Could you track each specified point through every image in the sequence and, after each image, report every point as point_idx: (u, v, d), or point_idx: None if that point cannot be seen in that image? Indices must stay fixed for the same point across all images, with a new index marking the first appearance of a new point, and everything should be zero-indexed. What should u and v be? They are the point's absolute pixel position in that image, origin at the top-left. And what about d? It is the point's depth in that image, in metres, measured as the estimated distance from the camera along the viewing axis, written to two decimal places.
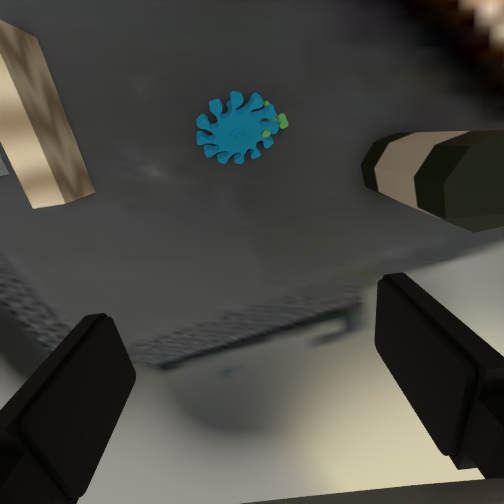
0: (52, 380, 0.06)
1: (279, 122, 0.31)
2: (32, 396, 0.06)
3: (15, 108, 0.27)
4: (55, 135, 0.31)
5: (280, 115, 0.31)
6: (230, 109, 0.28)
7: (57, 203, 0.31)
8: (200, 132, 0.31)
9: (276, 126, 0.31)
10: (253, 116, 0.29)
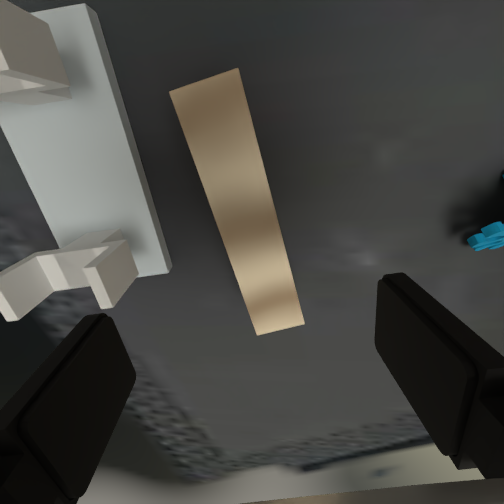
0: (52, 380, 0.06)
1: None
2: (32, 395, 0.06)
3: (260, 208, 0.17)
4: None
5: None
6: None
7: (293, 325, 0.21)
8: (500, 224, 0.20)
9: None
10: None
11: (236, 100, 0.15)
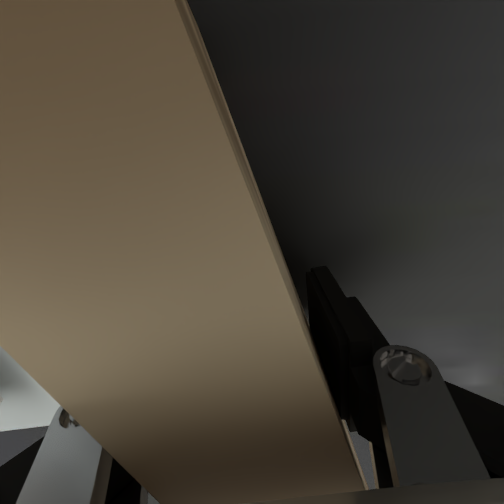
0: None
1: None
2: None
3: (285, 427, 0.05)
4: (323, 370, 0.08)
5: None
6: None
7: None
8: None
9: None
10: None
11: None
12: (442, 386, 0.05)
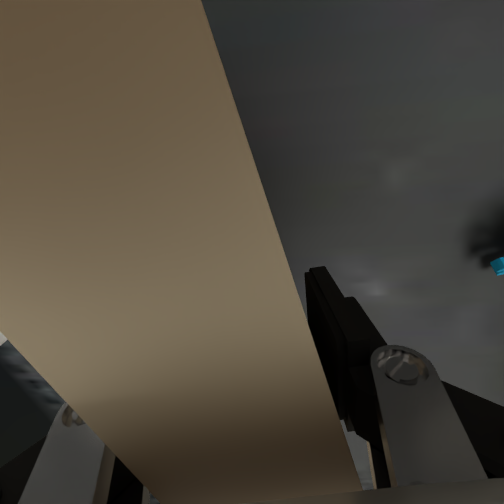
0: None
1: None
2: None
3: (287, 425, 0.05)
4: None
5: None
6: None
7: None
8: None
9: None
10: None
11: None
12: (439, 385, 0.05)
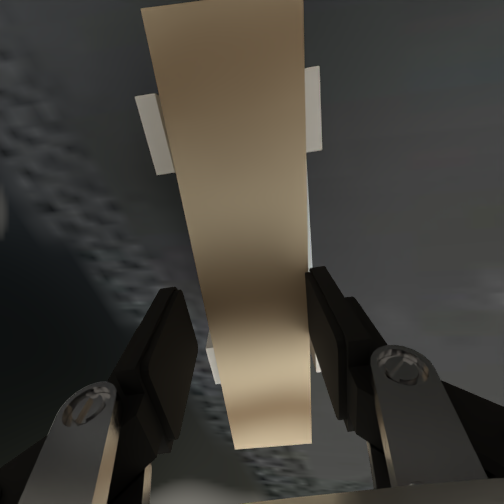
0: (155, 336, 0.07)
1: None
2: (144, 346, 0.07)
3: (284, 272, 0.10)
4: None
5: None
6: None
7: (293, 442, 0.14)
8: None
9: None
10: None
11: (284, 60, 0.07)
12: (439, 386, 0.05)
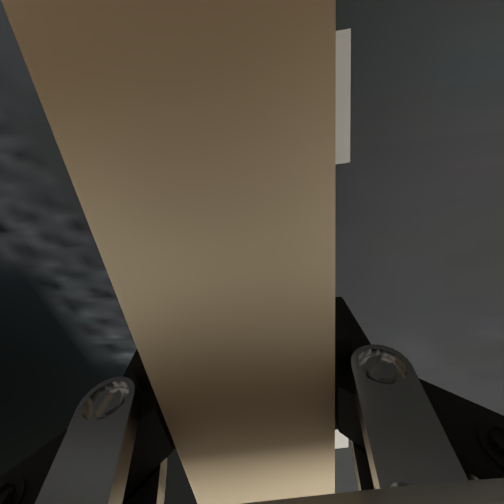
0: None
1: None
2: None
3: (294, 371, 0.06)
4: None
5: None
6: None
7: None
8: None
9: None
10: None
11: None
12: (416, 383, 0.05)
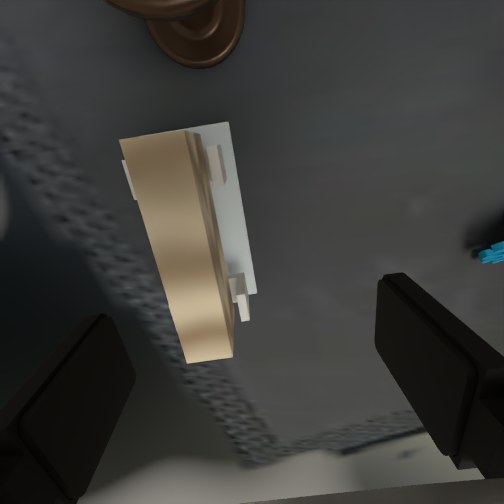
0: (52, 380, 0.06)
1: None
2: (32, 396, 0.06)
3: (197, 250, 0.19)
4: (219, 263, 0.23)
5: None
6: None
7: (221, 357, 0.23)
8: None
9: None
10: None
11: (180, 155, 0.16)
12: None
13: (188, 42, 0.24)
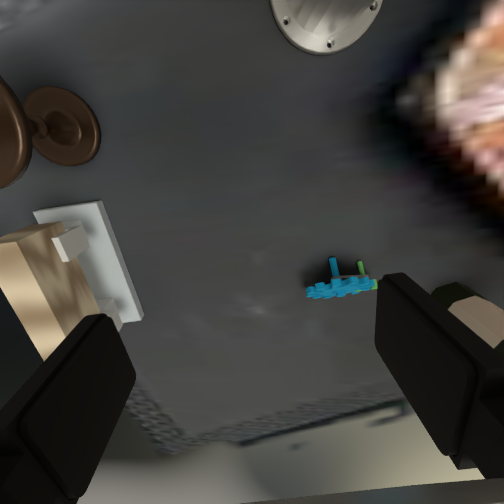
0: (52, 380, 0.06)
1: None
2: (32, 396, 0.06)
3: (42, 307, 0.29)
4: (76, 309, 0.33)
5: (373, 280, 0.40)
6: (344, 283, 0.37)
7: None
8: (312, 287, 0.39)
9: (368, 288, 0.40)
10: (357, 286, 0.38)
11: (17, 255, 0.26)
12: None
13: (61, 150, 0.34)
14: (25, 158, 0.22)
